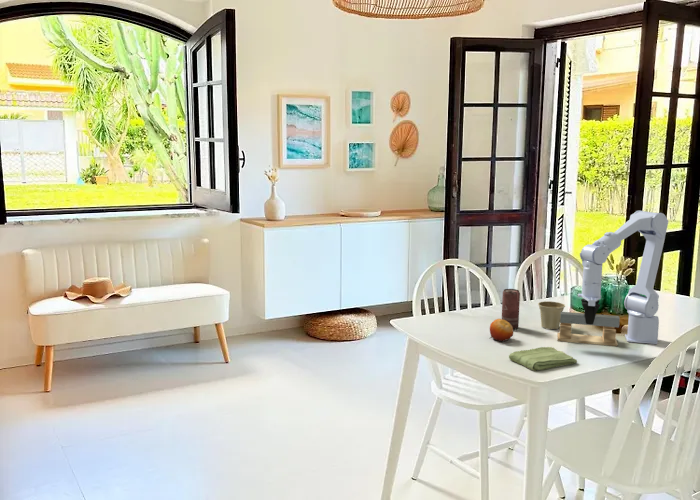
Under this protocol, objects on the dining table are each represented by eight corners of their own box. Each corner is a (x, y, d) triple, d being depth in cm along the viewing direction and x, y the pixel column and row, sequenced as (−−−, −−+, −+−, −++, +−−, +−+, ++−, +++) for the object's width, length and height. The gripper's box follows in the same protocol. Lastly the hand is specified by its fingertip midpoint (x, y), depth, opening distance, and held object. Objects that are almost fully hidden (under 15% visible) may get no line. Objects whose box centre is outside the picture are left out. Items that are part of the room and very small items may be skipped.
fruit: (492, 329, 230) (503, 313, 226) (509, 345, 226) (520, 328, 222) (479, 334, 225) (490, 317, 221) (496, 350, 221) (507, 333, 217)
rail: (618, 325, 212) (618, 316, 211) (619, 327, 209) (619, 318, 209) (560, 320, 217) (560, 311, 217) (560, 322, 214) (560, 313, 214)
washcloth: (579, 365, 199) (579, 355, 199) (533, 373, 192) (534, 363, 191) (549, 353, 211) (549, 343, 210) (505, 360, 204) (505, 350, 203)
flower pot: (565, 331, 233) (566, 308, 232) (537, 330, 235) (539, 306, 234) (562, 324, 242) (563, 302, 241) (536, 323, 244) (537, 300, 243)
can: (512, 331, 234) (514, 292, 232) (497, 327, 239) (499, 289, 236) (522, 327, 238) (524, 290, 236) (507, 324, 242) (509, 287, 240)
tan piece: (615, 339, 224) (616, 325, 223) (617, 346, 217) (618, 331, 216) (557, 334, 229) (558, 320, 228) (557, 340, 222) (558, 326, 221)
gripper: (578, 276, 219) (575, 316, 221) (579, 285, 205) (576, 327, 207) (600, 278, 217) (597, 317, 219) (603, 287, 203) (600, 329, 205)
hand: (589, 322), depth 213 cm, fingers closed on rail, 3 cm apart
